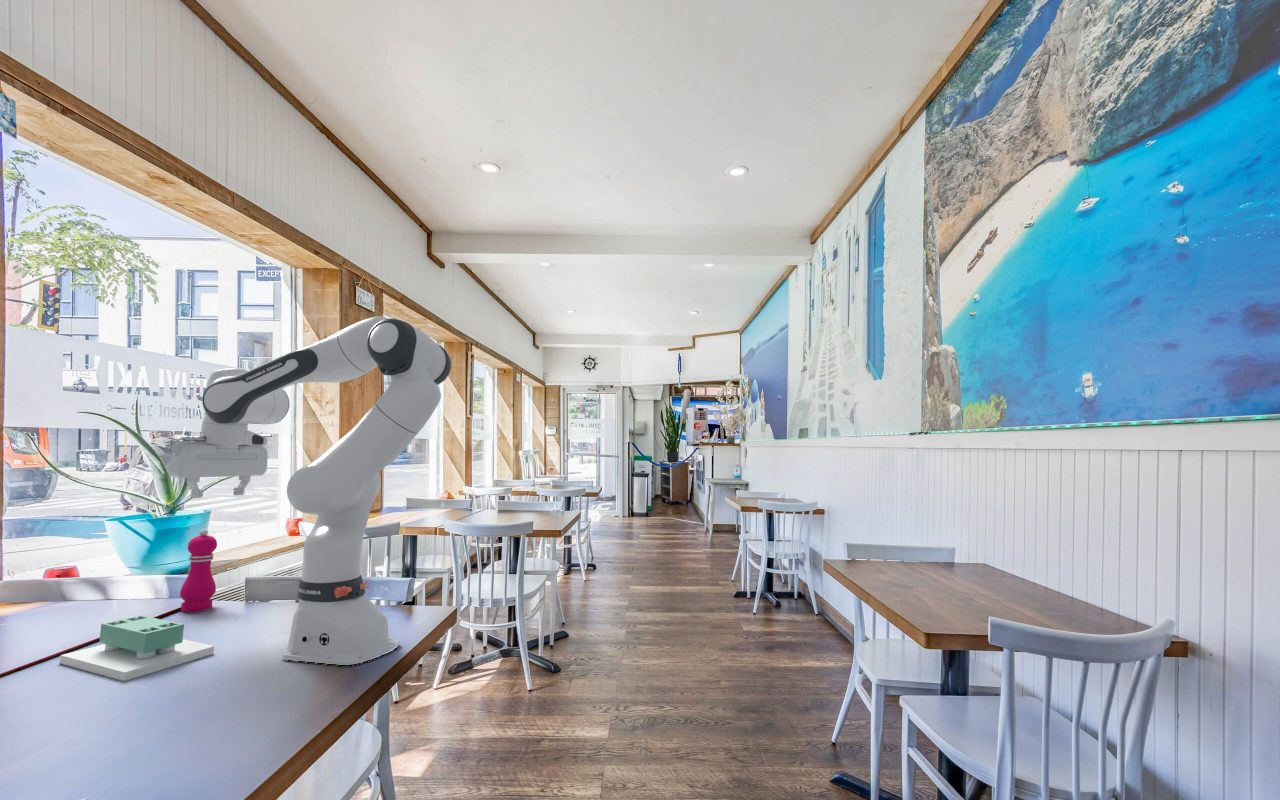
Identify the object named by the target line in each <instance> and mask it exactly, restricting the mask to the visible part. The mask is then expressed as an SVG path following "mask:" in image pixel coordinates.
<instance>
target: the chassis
mask: <svg viewBox="0 0 1280 800" xmlns="http://www.w3.org/2000/svg"><path fill="white" fill-rule="evenodd" d="M134 617H135V616H134ZM135 620H139V617H135V618H134V621H135ZM118 624H120V622H119V621H117V622H115V624H114V625H118ZM170 626H171V625H170V624H166V625H165V628H166V627H170ZM150 631H152V629H151V628H148V629H147V630H146V632H150ZM214 653H215V645H211V644H207V643H202V642H199V641H198V642H197V641H193V640H188V639H185V638H183V641H182V643H179V644H175V645H172V646H168V647H164V648H161V649H157V650H153V651H150V652H146V653H141V652H137V651H133V650H129V649H124V648H120V647H116V646H112V645H108V644H104V643H103V644H100V645H97V646H93V647H89V648H83V649H80V650H76V651H71V652H68V653H64V654H60V659H59V664H61V665H65V666H67V667H68V666H69V667H71V668H74V669H78V670H82V671H86V672H89V673H92V674H95V675H96V674H97V675H99V676H100V675H101V676H103V675H104V677H107V678H111V679H114V680H119V681H122V682H126V681H129V680H132V679H135V678H139V677H142V676H145V675H148V674H152V673H156V672H159V671H162V670H165V669H169V668H171V667H175V666H178V665H182V664H185V663H189V662H191V661H194V660H198V659H200V658H204V657H207V656H212V655H214Z"/></svg>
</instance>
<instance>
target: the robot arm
mask: <svg viewBox="0 0 1280 800" xmlns="http://www.w3.org/2000/svg"><path fill="white" fill-rule="evenodd" d="M377 367H378V369H379V372H380V373H381V374H382V375H384V376H389V377H390V382H389V386H387V388H386V390H385V391H384V393H383V394H382V395H380V397H379V398H378V399H377V400H376V401H375V402H374V403H373V405H372V406H371V407H370V408H369V409H368V411H367V412H366V413H365V414H364V415H362V417H361V418H360V420H358V422H357V423H356V424H355V425H354V426H353V427H352V428H351V429H350V430H349V431H348V432H346V434H345V435H343V436H342V437H341V438H340V439H339V440H337V441H336V442H335V443H334V444H333V445H331V446H329V448H327V449H326V450H325V451H323V453H321V454H320V455H319V456H318V457H316V458H315V459H314V460H313V461H311V462H310V463H308V464H307V465H305V466H303V467H301V468H300V469H298V470H296V471H295V472H294V473H293V474H292V475H291V477H290V478H289V480H288V481H287V485H286V486H287V487H286V496H287V499H288V502H289V503H290V505H291V506H292V507H293V508H294V510H295V509H296V510H297V511H298V512H300V513H302V514H303V513H304V514H308V515H315V516H317V517H316V519H315V522H314V525H313V527H312V530H311V531H310V533H309V535H308V536H307V537H306V538H305V540H304V545H303V557H302V567H301V577H300V579H299V580H298V585H297V598H298V599H299V600H298V604H297V607H296V610H295V612H294V614H293V617H292V618H293V619H292V624H291V627H290V628H291V629H290V633H289V639H288V644H287V648H286V651H285V652H284V653H283V655H282V660H283V661H288V660H291V661H290V662H298V661H305V662H304V663H307V662H315V663H314V664H317V663H329V664H338V665H350V664H353V663H357V662H361V661H364V660H368V659H370V658H373V657H376V656H378V655H381V654H383V653H385V652H388V651H389V650H391V649H393V648H394V647H396V646H397V645H398V644H399V643H401V642H400V640H398V639H395V638H393V637H390V636H389V624H388V623H389V622H388V619H387V617H386V615H385V614H384V613H383V612H382V611H381V610H380V609H379V608H378V607H377V606H376V605H375V604H374V603H373V602H372V601H371V599H369V597H368V596H367V595H366V589H367V588H369V587H370V586H369V585H368V584H370V581H366V582H364V580H363V576H362V575H361V564H362V550H363V542H364V535H365V532H366V528H367V524H368V520H369V517H370V514H371V511H372V507H373V504H374V501H375V499H376V497H377V496H378V494H379V492H380V490H381V486H382V480H381V476H380V474H379V473H380V472H381V471H382V470H383V469H385V468H386V467H387V466H389V465H390V464H392V463H393V462H394V461H396V460H397V458H399V456H400V454H402V453H403V451H404V450H405V449H406V448H407V446H409V445H410V443H411V442H412V441H413V440H414V438H416V436H418V434H419V433H420V432H421V431H422V429H423V428H424V426H425V425H426V424H427V422H428V421H429V420H430V418H431V417H432V415H433V414H434V412H435V410H436V409H437V407H438V405H439V403H440V401H441V399H442V393H441V390H440V388H439V386H438V385H440V384H442V383H443V382H444V381H445V380H446V379H447V378H448V377H449V375H450V373H451V370H452V359H451V357H450V355H449V354H448V352H447V351H446V350H445V348H444V347H443V346H441V345H440V344H437V342H435V341H434V340H433V339H432V338H431V336H429V335H428V334H427V333H425V332H423V331H422V330H420V329H418V328H417V327H414V326H412V324H410V323H409V322H407V321H404V320H401V319H397V318H387V317H385V316H382V315H381V316H380V315H379V316H378V315H375V316H371V317H369V318H366V319H363V320H360V321H358V322H355V323H353V324H351V325H349V326H346V327H345V328H343V329H340V330H339V331H337V332H336V333H333V334H332V335H330V336H328V337H326V338H324V339H321V340H320V341H318V342H315V343H313V344H310V345H308V346H305V347H302V348H300V349H297V350H294V351H292V352H289V353H286V354H283V355H282V356H279V357H276V358H275V359H272V360H270V361H268V362H266V363H264V364H262V365H259V366H257V367H255V368H253V369H250V370H249V371H248V370H246V369H243V368H234V367H233V368H227V367H226V368H220V369H216V370H215V371H213V372H211V374H210V375H209V377H208V380H207V383H206V387H205V391H204V392H203V395H202V398H201V399H202V406H203V410H204V417H203V419H202V422H201V428H200V436H198V435H197V436H196V435H195V436H190V435H183V436H181V437H180V438H178V439H176V440H175V441H174V443H173V450H172V451H173V453H172V456H171V458H170V459H171V460H170V464H169V469H168V473H169V475H170V476H171V477H172V478H174V479H177V478H178V479H186V484H187V486H188V487H189V489H190V490H191V491H190V498H192V499H199V498H200V499H201V498H203V496H204V489H200V488H199V485H198V483H200V481H201V480H200V479H201V478H217V477H218V478H219V477H220V478H223V477H238V481H240V482H239V483H238V485H237V486H236V487H233V493H232V494H233V496H243V495H245V489H246V487H247V486H248V485H249V484H250V482H251V477H254V476H255V477H256V476H258V477H259V476H260V477H261V476H264V474H265V473H266V472H267V470H268V457H269V456H268V450H267V448H266V445H267V444H268V437H266V436H265V435H264V436H263V435H260V434H258V433H256V432H253V431H251V430H248V429H249V428H248V427H249V425H271V424H276V423H279V422H281V421H282V420H283V419H284V418H285V417H286V416H287V414H288V413H289V409H290V397H289V395H288V394H287V392H286V391H285V390H284V389H285V388H288V387H289V386H293V385H297V384H302V383H303V384H304V383H336V384H337V383H345V382H348V381H349V382H350V381H352V380H355V379H357V378H359V377H362V376H364V375H366V374H367V373H369V372H371V371H373V370H375V369H376V368H377ZM390 645H393V646H390ZM292 660H293V661H292Z"/></svg>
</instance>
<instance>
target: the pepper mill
mask: <svg viewBox="0 0 1280 800" xmlns="http://www.w3.org/2000/svg"><path fill="white" fill-rule="evenodd" d="M217 546H218V541H217V539H216V538H215V536H212V535H209V530H208V529H206V528H203V529H201V530H200V531H199V535H197V536H194V537H193V538H191V539H190V540H189V542H188V544H187V551H188V552H189V554H190V555H189V556H188V558H189V559H188V562H190V567H189V572H188V575H187V576H186V578H185V581H184V583H182V586H181V588H180V591H179V592H180V593H179V596H180V598H181V599H182V600H183V601H184V602H181V604H180V605H181V606H180V611H181V612H183V613H197V612H202V611H207V610H211V608H212V607H213V599H211V598H212V597H213V596H214V595H215V594H216V591H217V586H216V582H215V580H214V577H213V574H212V571H211V569H212V568H211V564H212V560H214V553H213V552H215V550H216V549H217Z"/></svg>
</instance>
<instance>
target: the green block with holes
mask: <svg viewBox="0 0 1280 800" xmlns="http://www.w3.org/2000/svg"><path fill="white" fill-rule="evenodd" d="M135 617H139V620H135V621H134V618H135ZM117 621H119V622H120V624H118V625H114V624H115V622H117ZM166 624H170V625H171V626H170V627H166V628H165V625H166ZM148 628H151V629H152V631H150V632H146V630H147V629H148ZM184 629H185V624H184V623H180V622H175V621H170V620H166V619H160V618H156V617H151V616H145V615H141V614H140V615H135V616H131V617H126V618H121V619H117V620H112V621H108V622H104V623H101V624H100V632H99V641H98V642H99V643H101V644H103V645H104V644H108V645H112V646H116V647H120V648H124V649H129V650H133V651H137V652H141V653H146V652H150V651H153V650H157V649H161V648H164V647H168V646H172V645H175V644H179V643H182V641H183V639H184Z"/></svg>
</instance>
